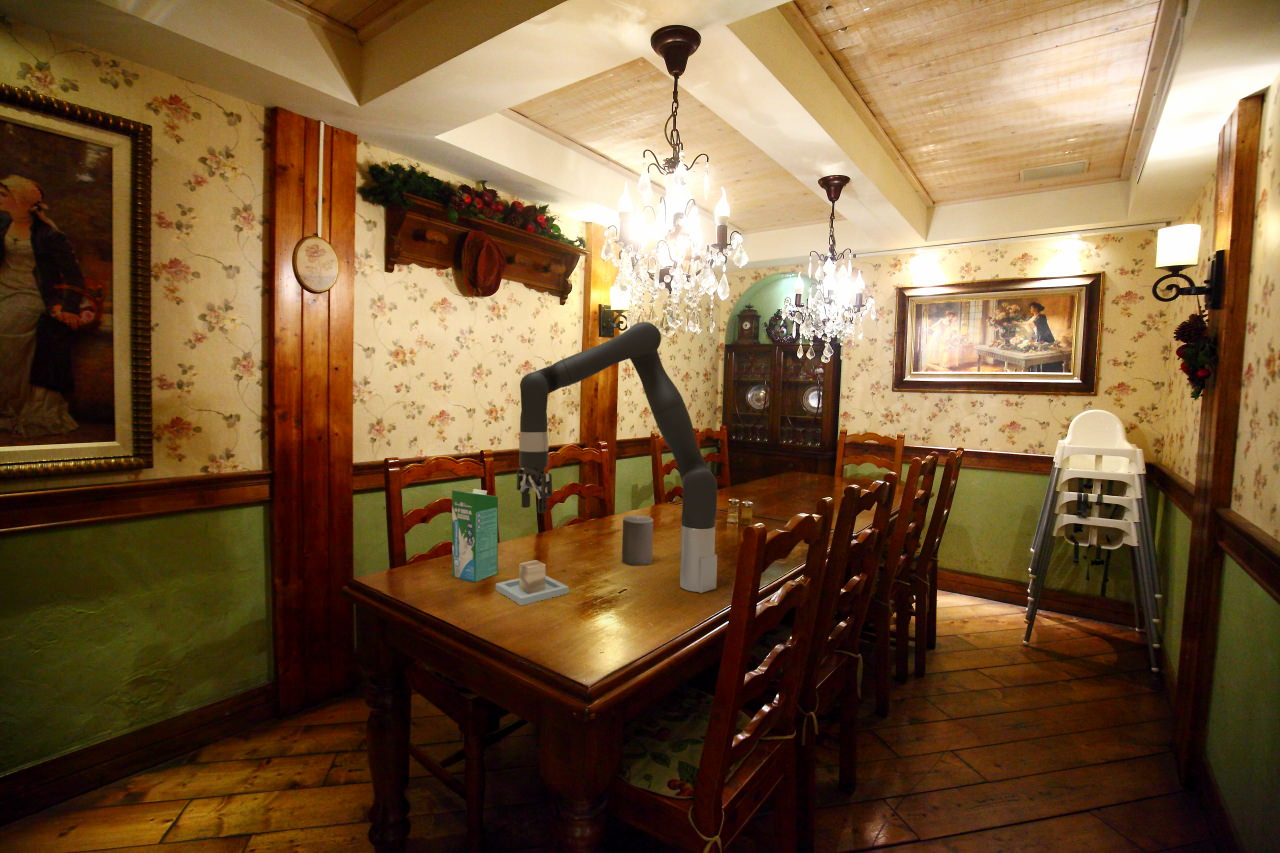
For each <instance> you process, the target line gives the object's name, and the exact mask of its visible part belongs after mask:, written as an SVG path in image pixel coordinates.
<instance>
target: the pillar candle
mask: <svg viewBox="0 0 1280 853" xmlns="http://www.w3.org/2000/svg"><path fill="white" fill-rule="evenodd" d="M622 518H623V520H622V537H621V538H622V540H621V542H622V545H621V546H622V547H621V562H622V563H623V564H625V563H626V564H625V565H628V564H629V566H635V565H642V566H647V565H646V564H648V565H651V563H653V544H654V543H653V538H654V536H653V535H654V519H653V517H650V516H647V515H639V514H637V515H627V516H624V517H622Z"/></svg>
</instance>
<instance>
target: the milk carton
mask: <svg viewBox="0 0 1280 853" xmlns="http://www.w3.org/2000/svg"><path fill="white" fill-rule="evenodd" d="M487 493H488V490H484V489H483V490H482V489H479V488H478V489H477V488H473V489H472V492H468V491H462V490H451V503H452V504H451V518H452V519H451V520H452V521H451V527H452V528H451V540H452V541H451V544H452V545H451V548H452V550H451V551H452V552H451V553H452V555H451V556H452V557H451V558H452V559H451V560H452V561H451V562H452V563H451V564H452V566H451V568H452V570H451V572H452V577H454V578H458V579H461V580H466V581H469V582H473V583H476V582H479V581H482V580H483V579H487V578H489V577H491V576H494V575H498V574H499V572H498V570H499V569H498V568H499V565H498V564H499V562H498V560H499V559H498V558H499V552H498V551H499V544H498V543H499V535H498V534H499V531H498V530H499V515H498V514H499V497H498V496H496V495H488V494H487ZM497 573H498V574H497Z"/></svg>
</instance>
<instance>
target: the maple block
mask: <svg viewBox="0 0 1280 853" xmlns="http://www.w3.org/2000/svg"><path fill="white" fill-rule="evenodd" d="M518 565H519V566H518V568H519V573H518V574H519V589H520V590H522V591H523V592H525V593H527V594H532V593H537V592H541V591H545V575H546V569H547V568H546V564H545V563H543V562H541V561H539V560H537V559H534V560H529V561H523V562H520V563H519V564H518Z"/></svg>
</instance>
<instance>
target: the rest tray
mask: <svg viewBox="0 0 1280 853" xmlns="http://www.w3.org/2000/svg"><path fill="white" fill-rule="evenodd" d="M569 588H570V587H569V586H568V585H565V584H564V583H562V582H560V581H558V580H555V579H554V578H551V577H550V576H548V575H547V574H545V591H541V592H537V593H532V594H527V593H525V592H523V591H522V590H520V589H519V578H515V579H511V580H510V579H509V580H506V581H501V582H497V583H495V591H496V590H497V591H496V592H498V593H500V594H502V595H503V596H504V595H505V597H506V596H507V597H506V598H508V599H509V598H510V599H509V600H511V601H513V602H514V601H515V602H514V603H516V604H517V605H519V606H525V605H531V604H533V603H537V601H538V602H540V601H541V600H542V601H545V599H546V600H550V599H552V597H553V598H556V596H557V597H561V596H564V594H565V595H568V594H567V593H569V594H570V589H569ZM560 595H561V596H560Z"/></svg>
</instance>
